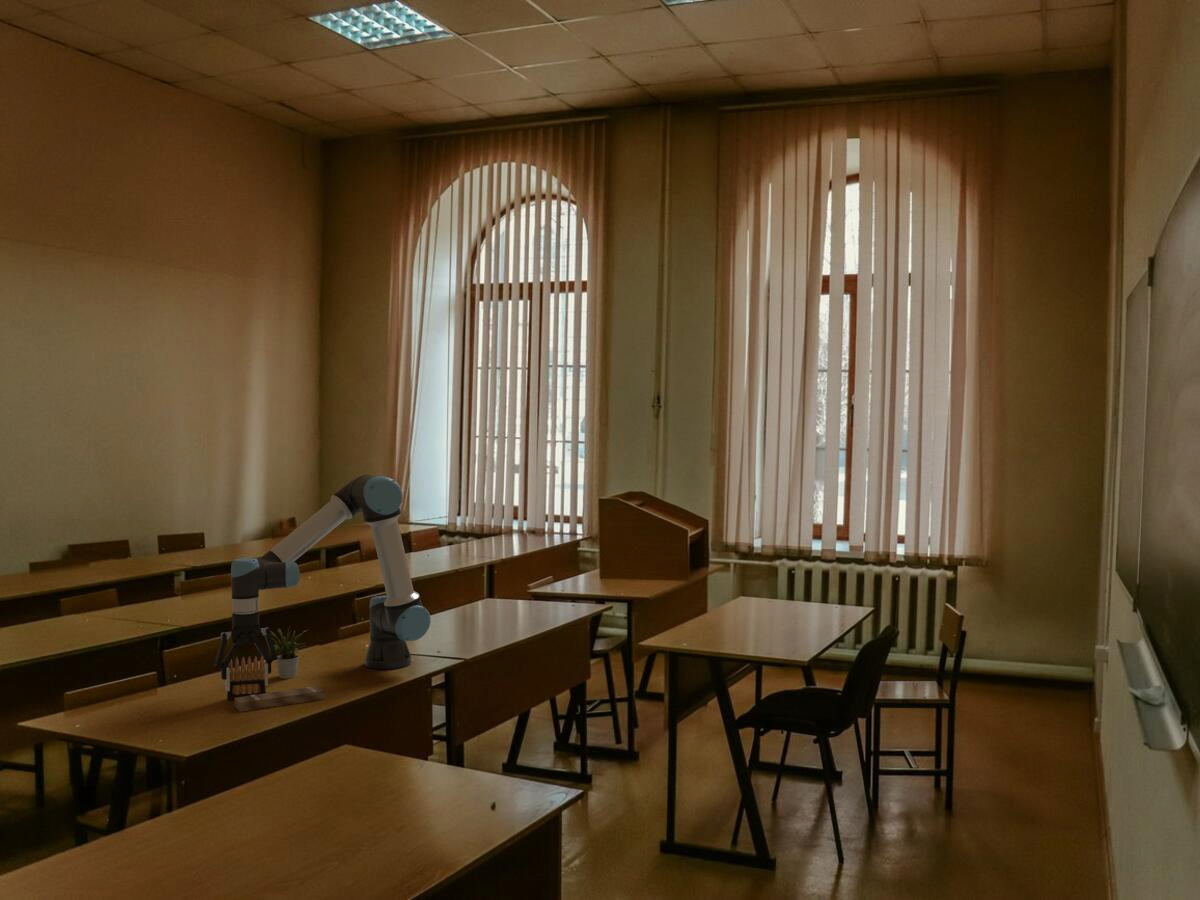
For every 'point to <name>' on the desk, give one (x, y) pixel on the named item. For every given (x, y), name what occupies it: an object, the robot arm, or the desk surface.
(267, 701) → the plank
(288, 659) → the house plant
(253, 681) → the ammunition clip
